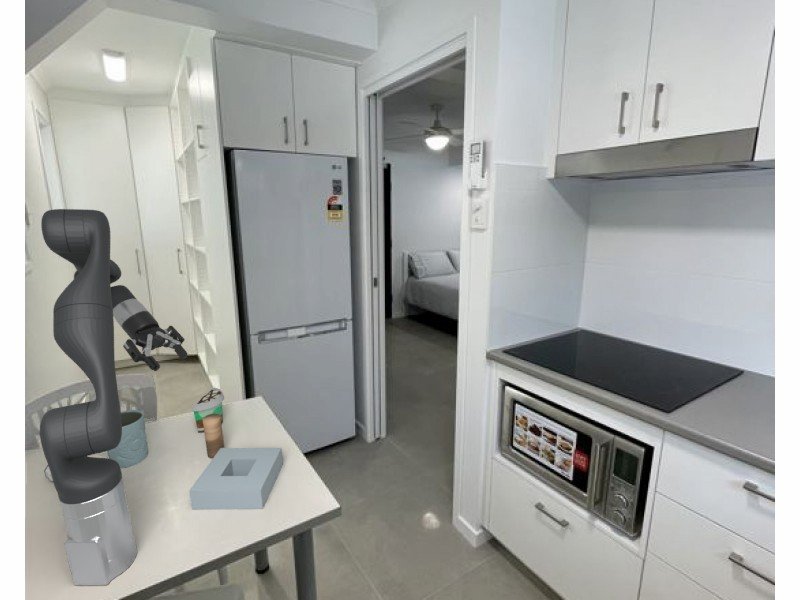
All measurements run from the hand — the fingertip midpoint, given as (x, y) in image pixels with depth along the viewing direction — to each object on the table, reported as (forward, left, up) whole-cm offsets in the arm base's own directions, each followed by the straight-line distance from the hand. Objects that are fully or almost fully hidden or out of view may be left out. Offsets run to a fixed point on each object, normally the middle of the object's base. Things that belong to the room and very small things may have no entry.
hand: (172, 363), depth 109 cm
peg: (-4, -11, -25) cm, 28 cm away
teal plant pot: (-6, +12, -25) cm, 29 cm away
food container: (+11, -4, -25) cm, 28 cm away
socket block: (-17, -23, -25) cm, 38 cm away
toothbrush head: (-19, +16, -26) cm, 36 cm away
